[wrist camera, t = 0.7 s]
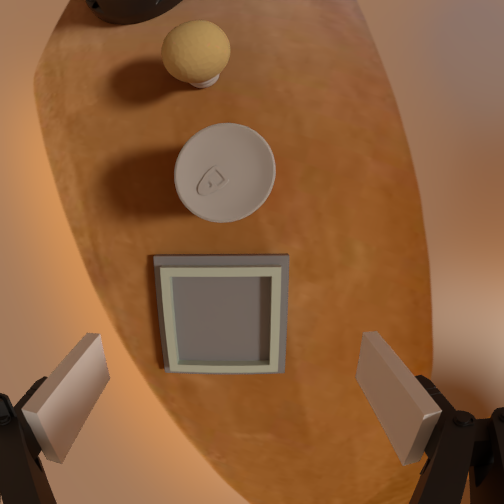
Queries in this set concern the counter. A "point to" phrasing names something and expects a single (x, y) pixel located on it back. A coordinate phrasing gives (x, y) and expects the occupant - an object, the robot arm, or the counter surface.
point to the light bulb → (196, 52)
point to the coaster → (222, 312)
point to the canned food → (224, 172)
